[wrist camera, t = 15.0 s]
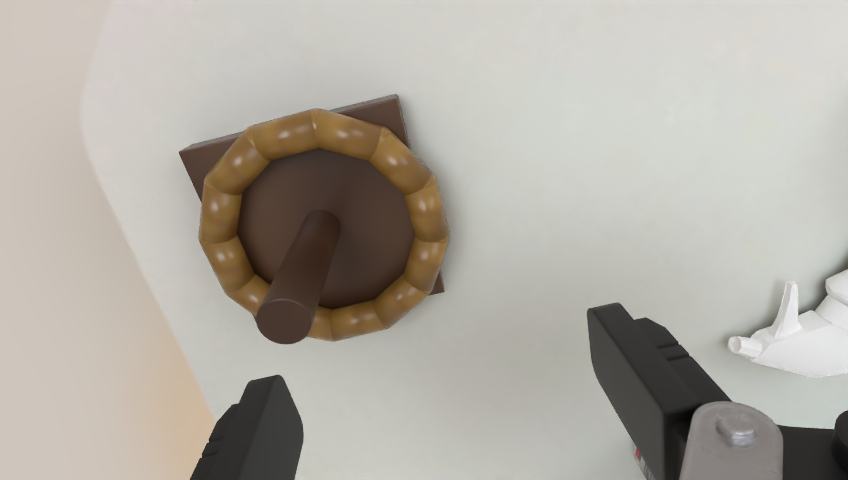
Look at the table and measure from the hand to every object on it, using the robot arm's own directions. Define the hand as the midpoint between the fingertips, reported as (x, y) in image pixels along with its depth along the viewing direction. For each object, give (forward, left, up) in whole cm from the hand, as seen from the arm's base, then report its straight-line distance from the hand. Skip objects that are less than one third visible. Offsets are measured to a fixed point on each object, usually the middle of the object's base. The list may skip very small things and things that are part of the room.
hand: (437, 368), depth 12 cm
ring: (-4, 0, -11) cm, 11 cm away
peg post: (-5, 0, -13) cm, 14 cm away
